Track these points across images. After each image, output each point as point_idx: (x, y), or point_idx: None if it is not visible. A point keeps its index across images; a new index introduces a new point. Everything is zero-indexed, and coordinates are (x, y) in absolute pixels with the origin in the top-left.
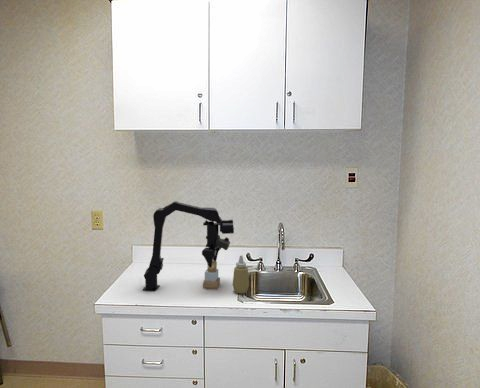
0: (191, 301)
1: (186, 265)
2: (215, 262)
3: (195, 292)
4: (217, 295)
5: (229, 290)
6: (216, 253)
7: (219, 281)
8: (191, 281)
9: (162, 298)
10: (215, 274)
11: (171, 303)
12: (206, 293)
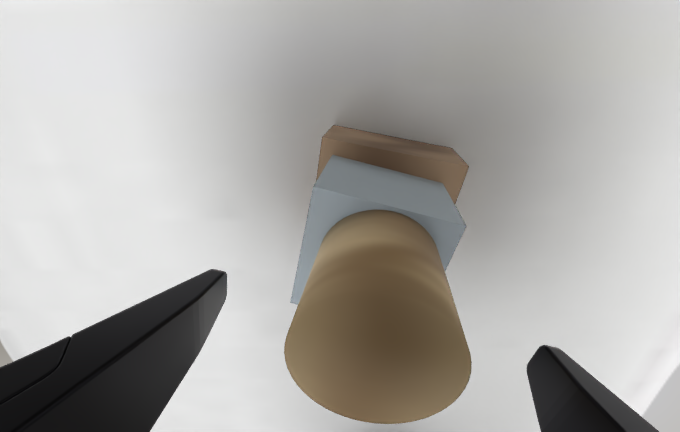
0: (635, 313)
1: (36, 336)
2: (413, 316)
3: (479, 293)
4: (586, 142)
5: (490, 23)
6: (69, 420)
7: (351, 135)
8: (284, 313)
9: (530, 427)
10: (456, 214)
11: (619, 398)
12: (516, 227)
